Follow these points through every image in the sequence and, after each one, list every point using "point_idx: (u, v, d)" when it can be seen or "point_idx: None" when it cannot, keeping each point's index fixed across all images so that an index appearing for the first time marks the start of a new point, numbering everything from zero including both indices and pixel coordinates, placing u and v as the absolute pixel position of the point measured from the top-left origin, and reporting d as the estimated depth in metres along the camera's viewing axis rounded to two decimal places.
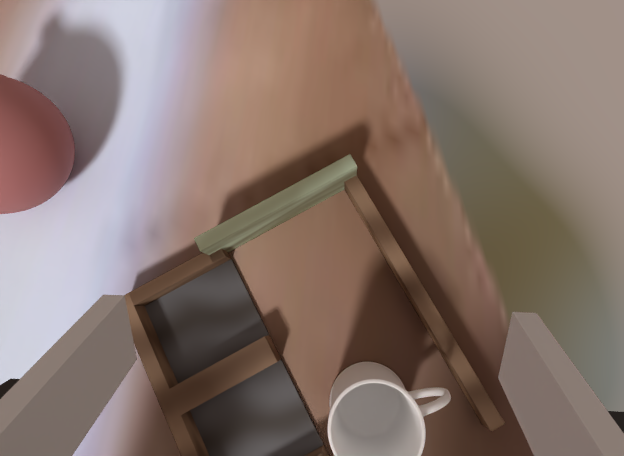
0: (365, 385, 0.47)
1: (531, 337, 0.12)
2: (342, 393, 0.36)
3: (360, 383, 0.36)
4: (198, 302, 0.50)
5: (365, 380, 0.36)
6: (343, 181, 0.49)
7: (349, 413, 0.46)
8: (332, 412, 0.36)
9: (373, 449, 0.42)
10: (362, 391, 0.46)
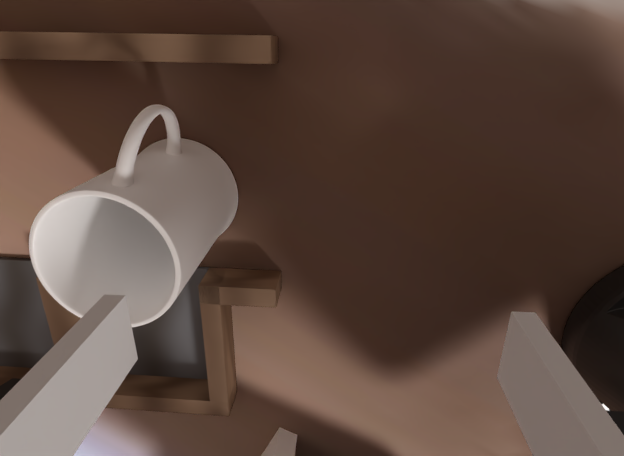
0: None
1: (530, 336, 0.13)
2: (39, 278, 0.23)
3: (31, 249, 0.22)
4: None
5: (30, 240, 0.22)
6: None
7: None
8: (61, 303, 0.23)
9: None
10: None
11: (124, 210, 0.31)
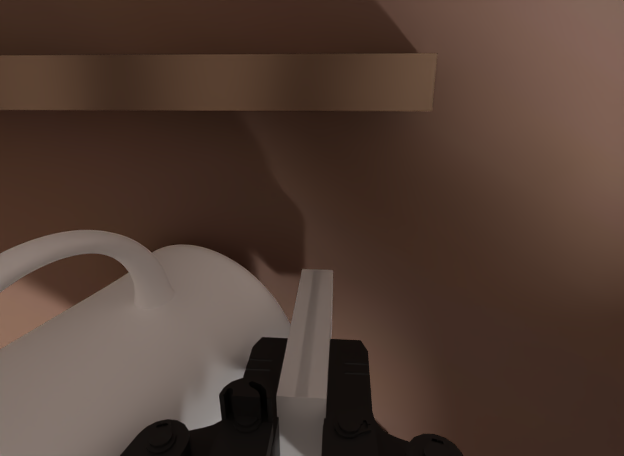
0: None
1: (313, 287, 0.15)
2: None
3: None
4: None
5: None
6: None
7: None
8: None
9: None
10: None
11: None
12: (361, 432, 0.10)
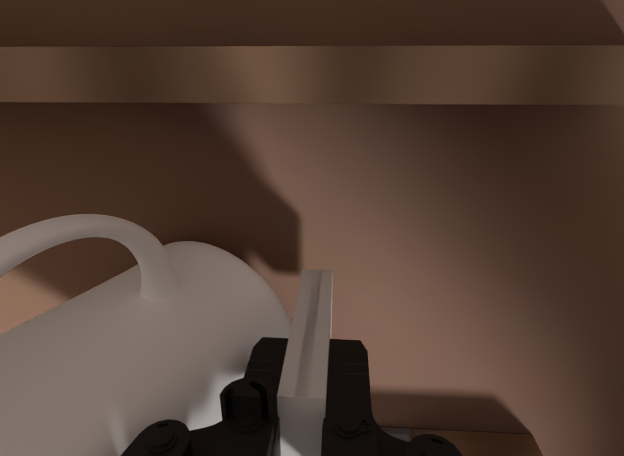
0: None
1: (313, 287, 0.15)
2: None
3: None
4: None
5: None
6: None
7: None
8: None
9: None
10: None
11: None
12: (361, 432, 0.10)
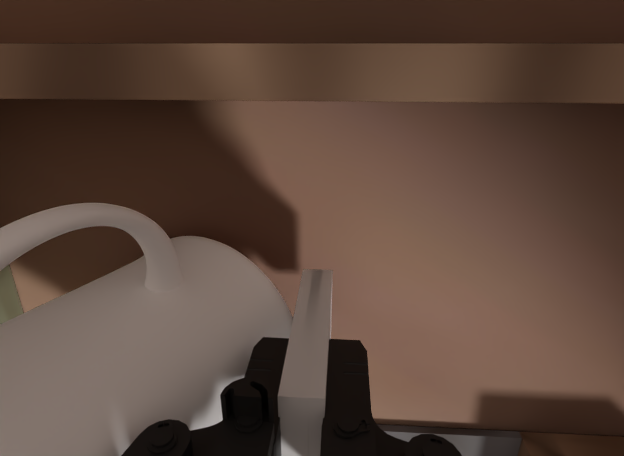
0: None
1: (312, 287, 0.15)
2: None
3: None
4: None
5: None
6: None
7: None
8: None
9: None
10: None
11: None
12: (360, 432, 0.10)
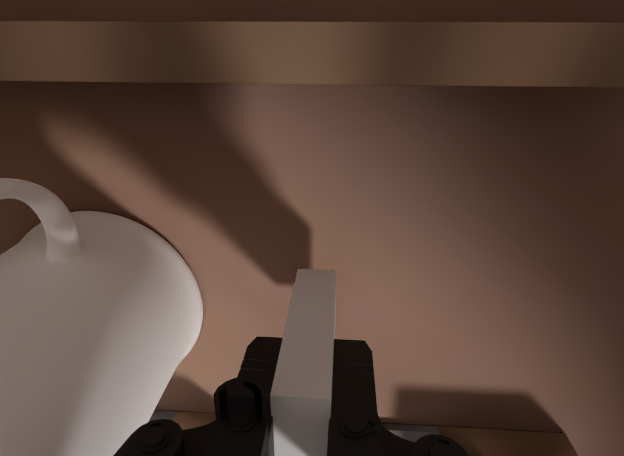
0: None
1: (317, 287, 0.15)
2: None
3: None
4: None
5: None
6: None
7: None
8: None
9: None
10: None
11: None
12: (367, 432, 0.10)
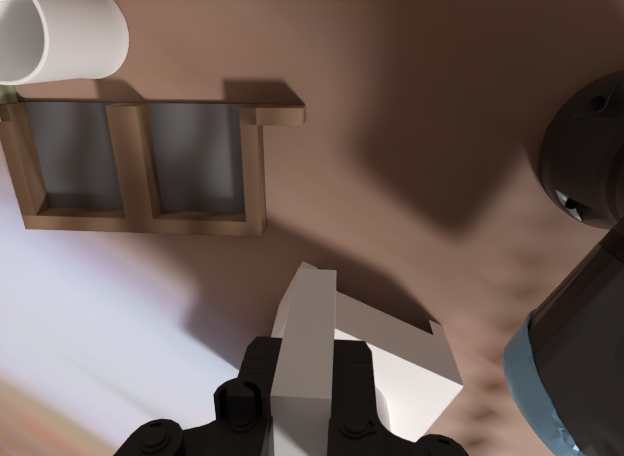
0: None
1: (317, 287, 0.15)
2: None
3: None
4: (62, 156, 0.46)
5: None
6: None
7: None
8: None
9: None
10: None
11: (33, 37, 0.39)
12: (367, 432, 0.10)
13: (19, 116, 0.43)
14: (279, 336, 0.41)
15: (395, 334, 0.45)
